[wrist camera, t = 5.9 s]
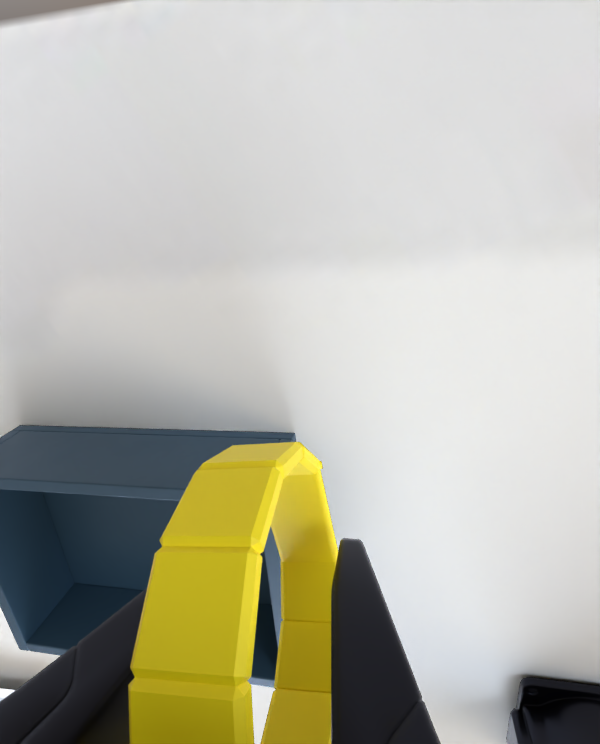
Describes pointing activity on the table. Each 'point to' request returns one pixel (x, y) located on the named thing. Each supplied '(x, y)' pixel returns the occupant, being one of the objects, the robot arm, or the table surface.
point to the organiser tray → (104, 528)
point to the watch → (237, 605)
